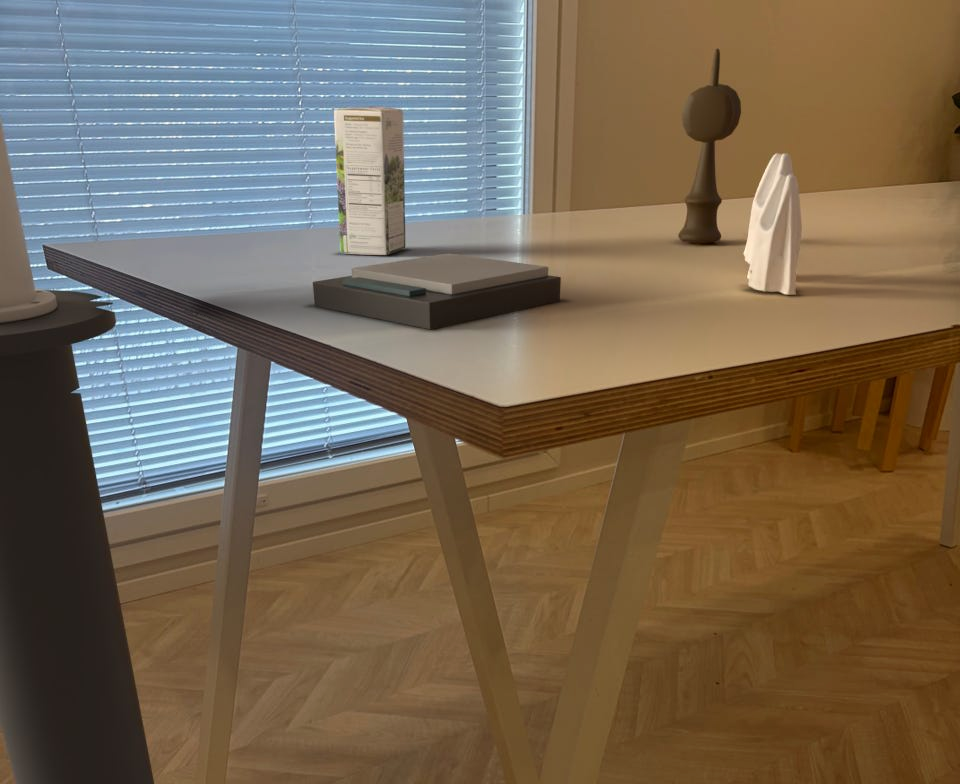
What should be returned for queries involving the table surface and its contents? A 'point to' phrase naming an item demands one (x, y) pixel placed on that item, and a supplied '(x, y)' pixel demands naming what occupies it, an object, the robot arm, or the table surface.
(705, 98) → the kendama
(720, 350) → the table surface
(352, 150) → the syrup box
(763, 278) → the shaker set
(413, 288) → the scale
